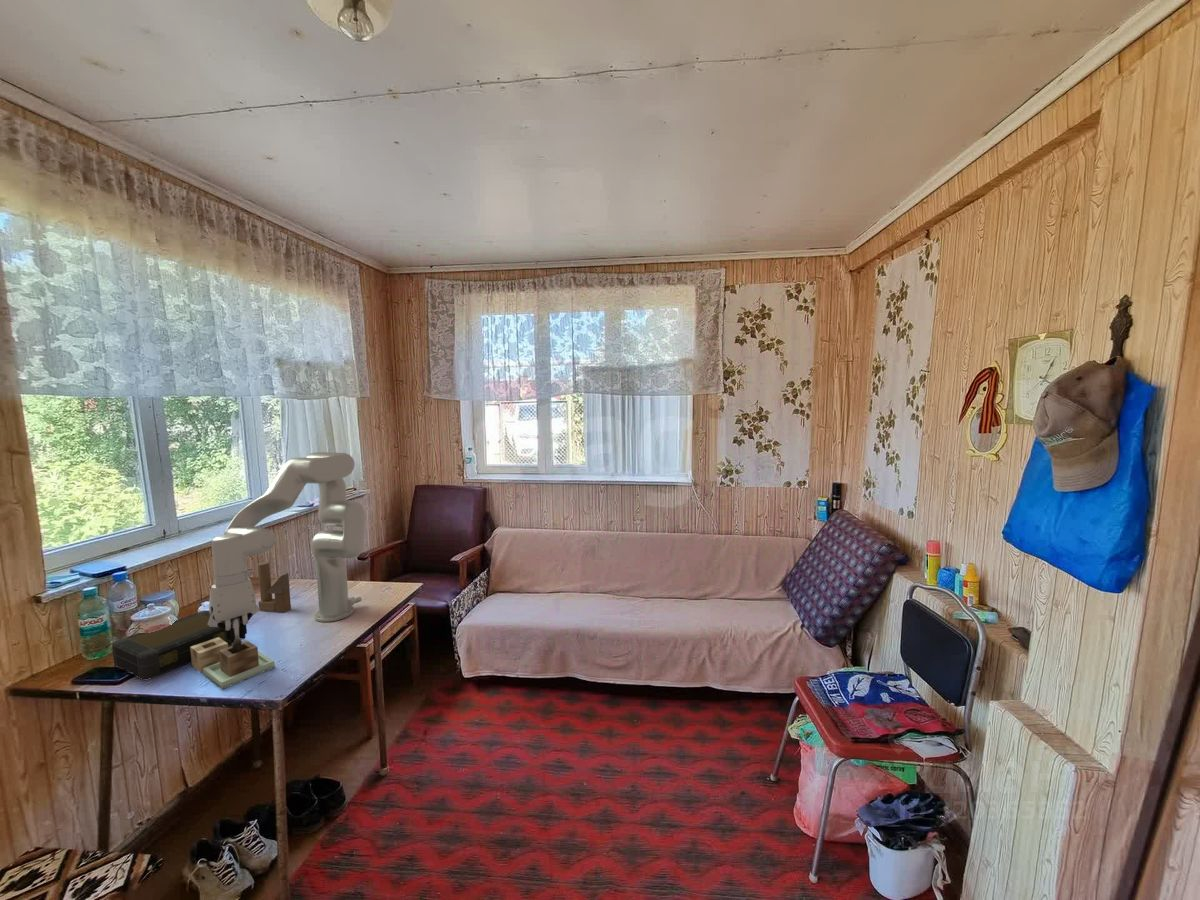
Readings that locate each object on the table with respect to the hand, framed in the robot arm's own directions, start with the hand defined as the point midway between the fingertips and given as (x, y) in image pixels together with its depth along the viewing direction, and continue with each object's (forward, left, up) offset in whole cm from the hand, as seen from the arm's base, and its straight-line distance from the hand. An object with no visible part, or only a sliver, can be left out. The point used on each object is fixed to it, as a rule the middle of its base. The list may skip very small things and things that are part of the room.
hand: (236, 639), depth 140 cm
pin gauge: (0, 0, -3) cm, 3 cm away
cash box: (+6, -28, -10) cm, 31 cm away
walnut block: (0, 0, -9) cm, 9 cm away
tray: (0, 0, -10) cm, 10 cm away
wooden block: (-25, -37, -10) cm, 46 cm away
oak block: (+3, -12, -10) cm, 16 cm away
